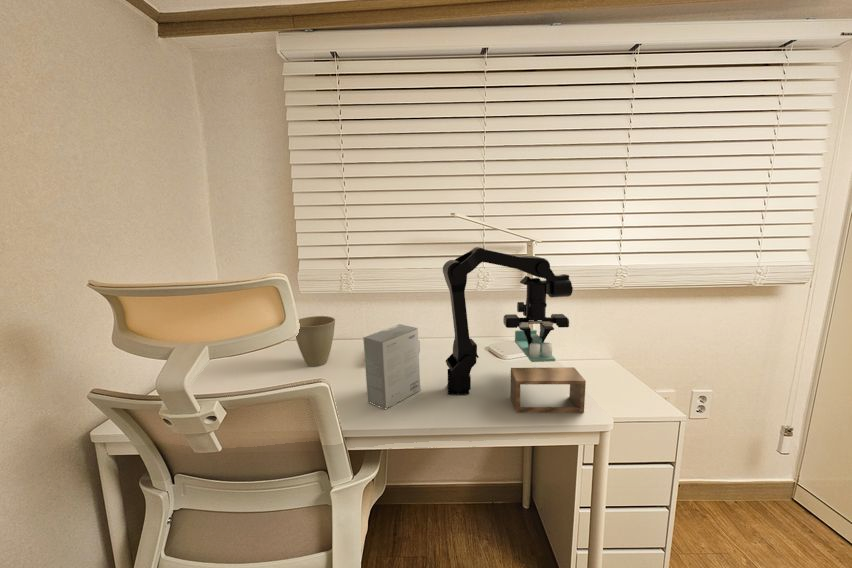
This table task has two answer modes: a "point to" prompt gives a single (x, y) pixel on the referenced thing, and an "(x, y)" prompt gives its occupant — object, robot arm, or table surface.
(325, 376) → the table surface
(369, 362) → the hard drive box
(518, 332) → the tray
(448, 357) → the robot arm
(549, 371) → the shelf
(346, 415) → the table surface
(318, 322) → the plant pot
